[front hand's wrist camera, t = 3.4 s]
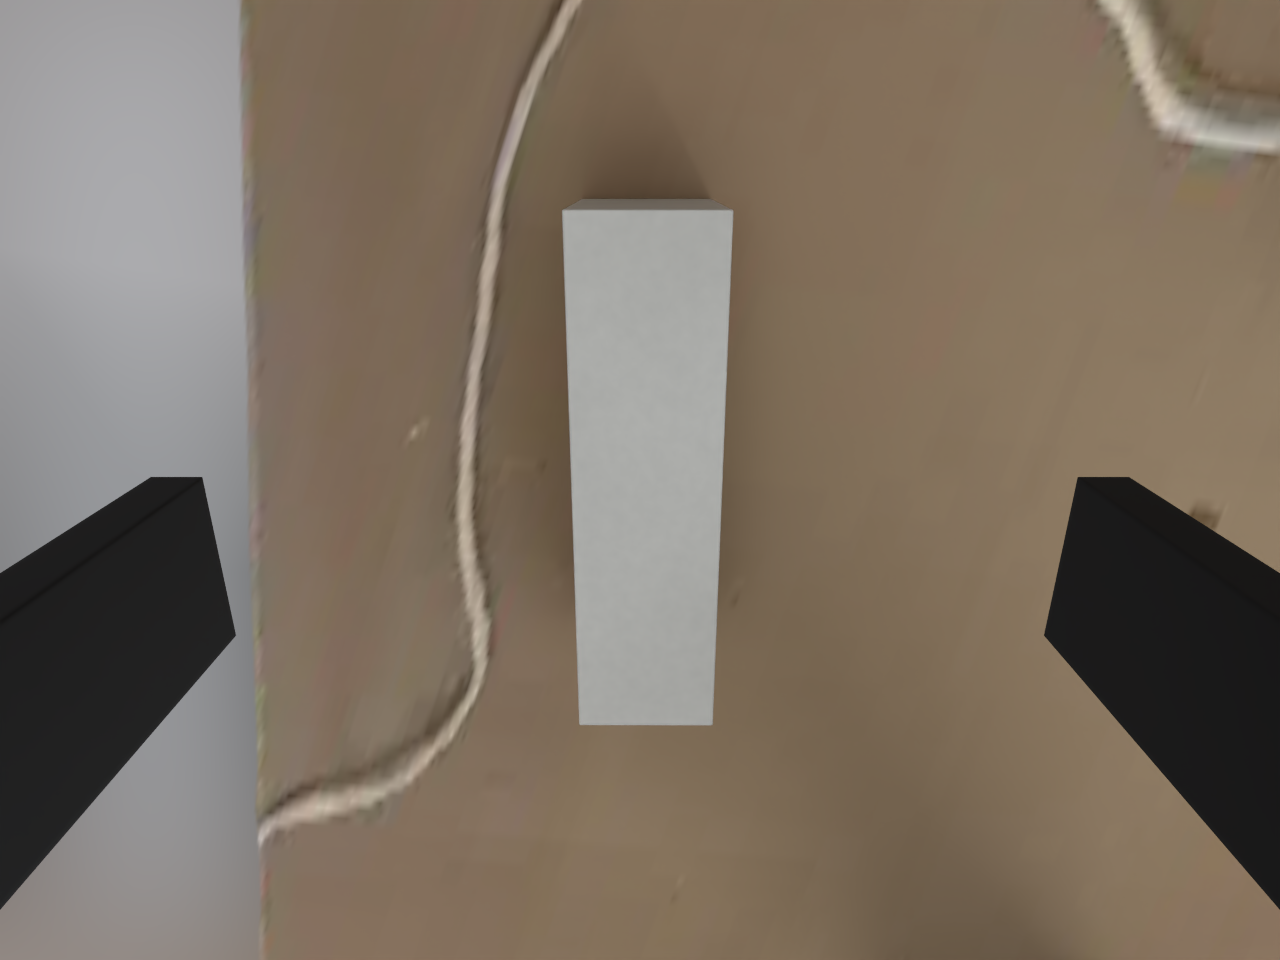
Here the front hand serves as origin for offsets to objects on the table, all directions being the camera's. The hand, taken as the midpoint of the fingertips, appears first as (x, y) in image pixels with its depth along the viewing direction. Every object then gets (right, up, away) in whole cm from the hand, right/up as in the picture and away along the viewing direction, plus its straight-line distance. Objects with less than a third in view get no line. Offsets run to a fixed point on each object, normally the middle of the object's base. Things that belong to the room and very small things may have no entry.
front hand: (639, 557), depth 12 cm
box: (0, +4, +31) cm, 32 cm away
